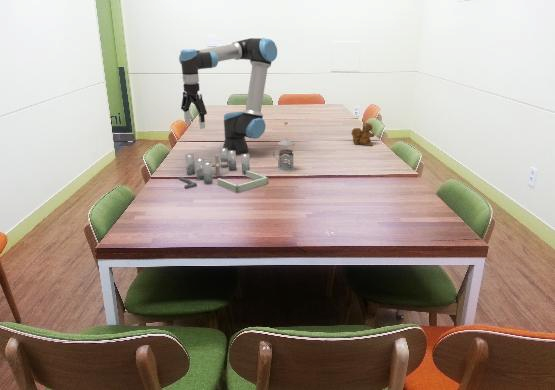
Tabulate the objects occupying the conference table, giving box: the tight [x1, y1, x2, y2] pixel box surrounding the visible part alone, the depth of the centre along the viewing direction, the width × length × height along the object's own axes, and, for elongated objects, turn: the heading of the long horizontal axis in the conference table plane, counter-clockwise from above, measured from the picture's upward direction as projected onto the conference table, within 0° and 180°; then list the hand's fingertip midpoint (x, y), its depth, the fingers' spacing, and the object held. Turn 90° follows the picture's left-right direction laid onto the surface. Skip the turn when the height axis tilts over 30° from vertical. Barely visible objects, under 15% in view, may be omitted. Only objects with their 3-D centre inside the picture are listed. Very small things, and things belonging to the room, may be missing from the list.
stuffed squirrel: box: [351, 122, 375, 147], centre depth 279 cm, size 10×14×13 cm
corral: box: [216, 170, 269, 194], centre depth 212 cm, size 19×15×3 cm
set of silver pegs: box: [184, 147, 251, 185], centre depth 226 cm, size 26×23×10 cm
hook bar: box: [178, 176, 198, 190], centre depth 213 cm, size 14×6×1 cm, turn 42°
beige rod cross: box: [211, 154, 227, 176], centre depth 225 cm, size 10×10×10 cm
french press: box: [272, 121, 296, 173], centre depth 229 cm, size 10×12×25 cm
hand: (195, 126), depth 225 cm, fingers open, 13 cm apart
